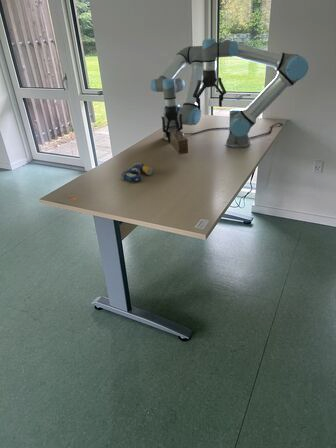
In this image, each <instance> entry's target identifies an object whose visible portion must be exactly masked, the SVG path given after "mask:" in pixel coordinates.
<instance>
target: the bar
mask: <svg viewBox="0 0 336 448" xmlns="http://www.w3.org/2000/svg"><path fill="white" fill-rule="evenodd" d="M168 132H169V137H170V143H169V144H170V145H171V146H172V148H173V149H174V150H175V151H176V152H177V154H178V155H185V154H189V143H188V140H189V139H188V138H187V137H186V136H185V135H183V134H184V133H183V134H182V133H181V132H180V131H179V130H178V129H177V128H176V127H171V128H169V129H168Z"/></svg>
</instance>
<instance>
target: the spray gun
mask: <svg viewBox="0 0 336 448" xmlns="http://www.w3.org/2000/svg"><path fill="white" fill-rule="evenodd" d="M153 171H154V170H153V168H151V167H150V166H148V165H145V164H144V162H141V163H134V164H133V165H131V166H130V167H129V168H128V169H126V170H125V171H124V172H122V173H121V174H120V175H121V176H120V179H121V180H123V181H125V180H126V181H128V182H130V183H134V182H135V183H136V182H140V181H141V180H142V177H143V175H141V173H144V174H145V175H147V176H151V175H152V174H153Z"/></svg>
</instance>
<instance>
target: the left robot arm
mask: <svg viewBox="0 0 336 448" xmlns="http://www.w3.org/2000/svg"><path fill="white" fill-rule="evenodd" d="M172 59H173V60H172V61H171V62H170V63H169V65H168V66H167V67H166V68H165V69H164V70H163V72H162V73H161V74H160V75H159V76H158V78H155V79H154V78H153V79H152V80H150V84H149V85H150V90H151V91H152V92H155V93H156V92H157V93H163V101H164V102H163V103H164V108H163V116H160V119H161V125H162V127H161V128H162V132H163V135H162V139H163V140H164V141H167V142H168V144H170V137H169V132H168V129H169V128H171V127H176V128H177V129H178V130H179V131H180V132H181V133H182V134H183V135H184V136H185V135H186V136H187V135H196V134H199V133H200V134H201V133H202V132H206V131H211V130H227V129H229V127H212V128H205V129H203V130H198V131H196V132H187V133H185V132H183V129H184V128H183V127H184V126H197V124H199V122H200V121H201V116H202V110H201V109H200V110H199V109H198V104H196V98H194V97H193V94H194V91H195V89H196V86H197V83H198V80H203V57H202V45H193V46H192V45H190V46H186V47H184V48H182V49H180V50H179V51H178V52H177V53H176V54H175V55H174V57H173V58H172ZM186 66H190V67H191V71H190V72H191V74H190V77H189V82H188V88H187V92H186V97H185V102H183V103H182V106H180V104H178V103H177V93H179V92H182V91H184V89H185V88H186V82H185V80H184V79H183V78H181V77H179V78H175V77H176V75H177V74H178V73H179V72H180V71H181V70H182V69H184V68H185V67H186ZM202 86H203V83H202V84H201V85H200V88H199V90H198V92H199V91H200V89H201V88H202ZM197 94H198V93H197Z"/></svg>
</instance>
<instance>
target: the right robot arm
mask: <svg viewBox="0 0 336 448" xmlns="http://www.w3.org/2000/svg"><path fill="white" fill-rule="evenodd" d="M201 43H202V44H201V46H202V57H203V80H198V83H197V86H196V89H195V91H194V94H193V97H194V98H196V104H198V109H199V110H201V98H200V97H201V95H202V94H203V92H204V91H205V89H206V88H214V89H215V90H216V91H217V92H218V93H219V94H218V107H220V108H222V107H223V101H224V96H225V94H227V90H226V89H225V86H224V84H223V81H222V77H219V76H218V77H217V59H218V58H232V57H233V58H237V59H240V60H244V61H248V62H252V63H256V64H259V65H262V66H266V67H270V68H274V70H275V71H277V72H276V73H277V74H276V76H275V78H274V79H272V81H271V82H270V83H268V85H267V86H266V87H265V88H264V89H263V90H262V91H261V92H260V93H259V94H258V95H257V96H256V98H254V100H253V101H252V102H251V103H250V104H248V106H247V107H246V108H234V109H230V110H229V127H228V128H229V133H228V136H227V139H226V146H227V147H229V148H234V149H240V148H246V147H248V146H250V144H251V143H250V139H253V138H257V137H261V136H264V135H267V134H270V133H271V131H272V127H274V126H276V125H282V126H283V125H284V124H283V123H282V122H276V123H274V124H271V125H270V126H269V130H268V131H267V132H265V133H261V134H258V135H254V136H249V133H250V130H251V129H252V127H253V126H254V125H256V123H257V119H258V118H259V117H260V115H262V114H263V113H264V111H266V109H267V108H268V107H270V106H271V105H272V103H274V101H275V100H276V99H277V98H279V96H280V95H281V94H282V93H283V92H284V91H285V90H286V89H288V87H293V86H294V85H295V84H296V83H297V82H298V81H301V80H302V79H304V78H305V77H306V75H307V74H308V72H309V62H308V61H307V59H306V58H305V57H304V56H302V55H299V54H295V53H288V52H282V51H281V52H274V51H270V50H267V49H263V48H259V47H255V46H251V45H248V44H243V43H239V42H238V41H237V40H231V39H224V40H223V41H219V42H218V41H217V39H216V38H206V39H203V41H202V42H201ZM217 83H218V85H219V86H218V85H217ZM201 84H202V85H201ZM200 85H201V89H200V91H199V92H198V90H199V88H200ZM219 87H220V88H219ZM197 93H198V94H197Z"/></svg>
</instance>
